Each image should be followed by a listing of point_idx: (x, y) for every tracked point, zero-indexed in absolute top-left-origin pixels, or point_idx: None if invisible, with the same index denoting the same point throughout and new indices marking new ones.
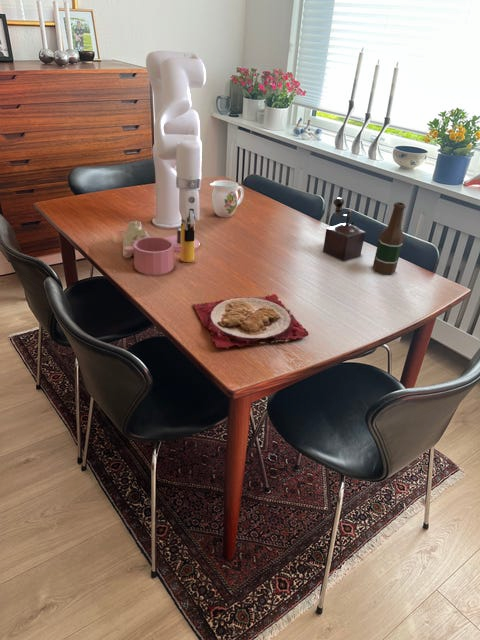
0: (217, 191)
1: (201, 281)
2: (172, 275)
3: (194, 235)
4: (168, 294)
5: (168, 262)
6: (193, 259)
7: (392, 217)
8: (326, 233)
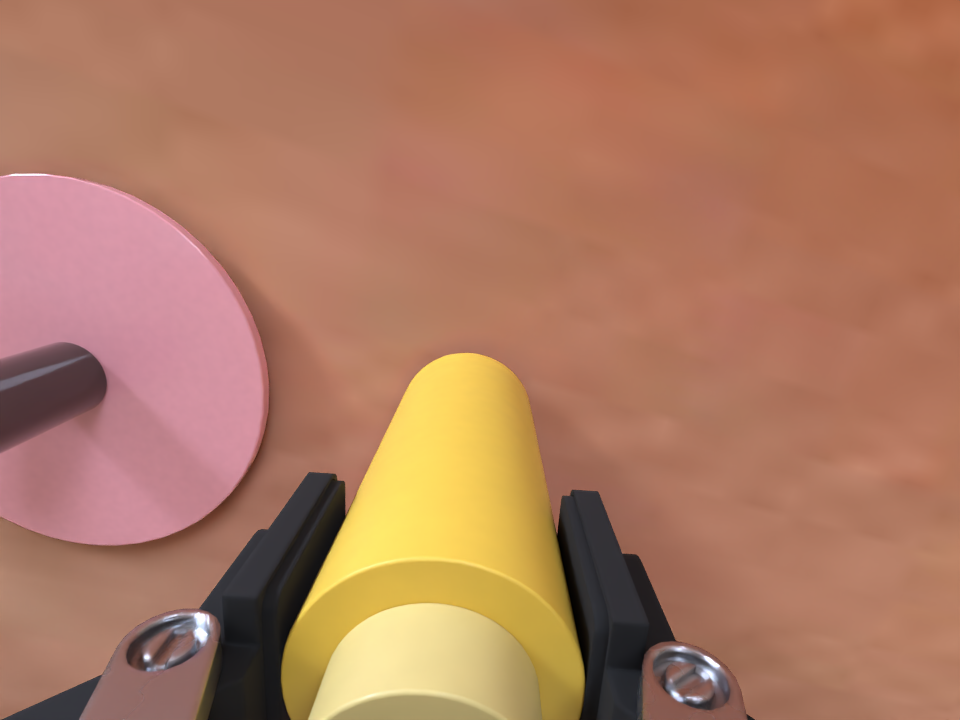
0: None
1: (872, 395)
2: (685, 576)
3: (614, 538)
4: (957, 664)
5: None
6: (510, 372)
7: None
8: None
